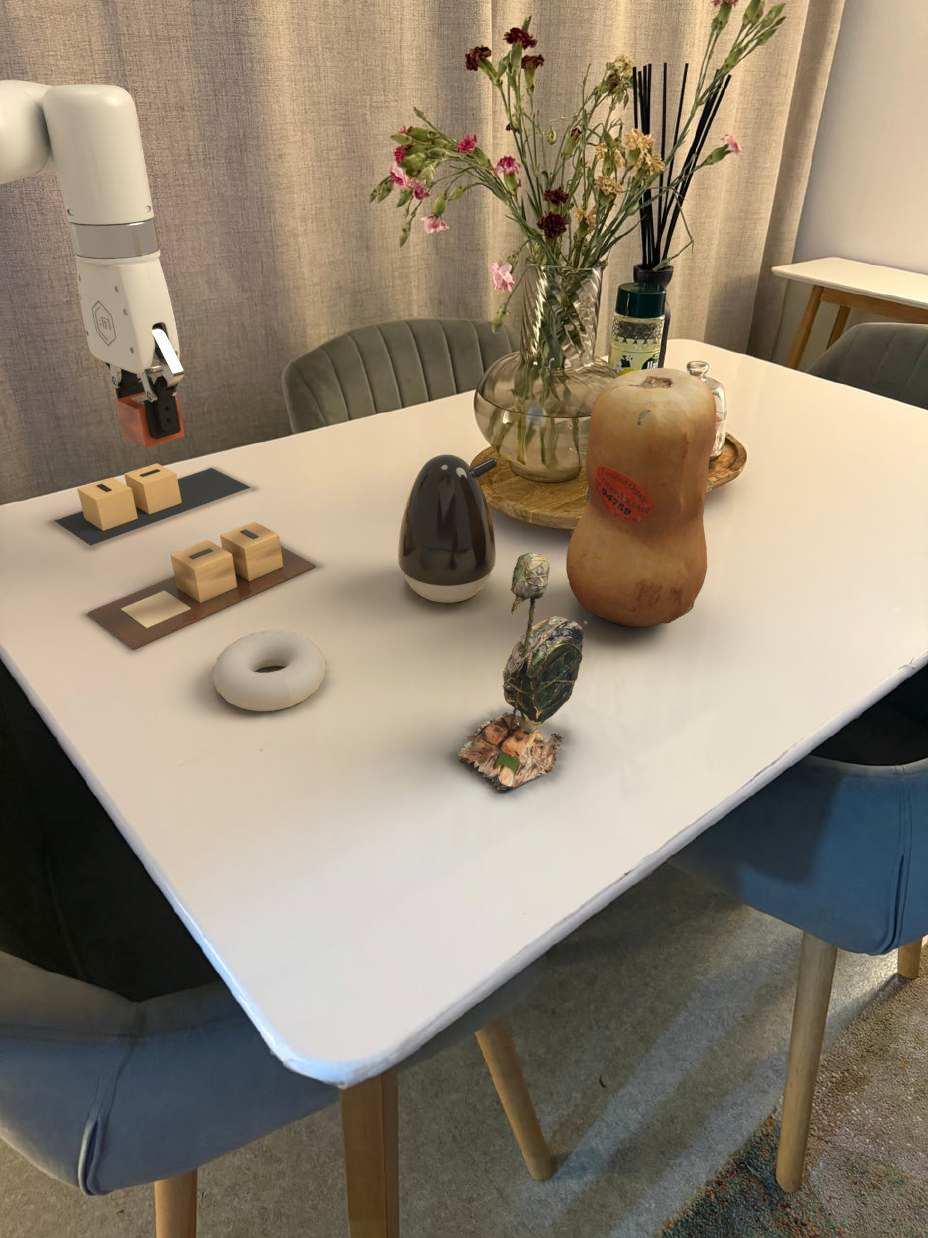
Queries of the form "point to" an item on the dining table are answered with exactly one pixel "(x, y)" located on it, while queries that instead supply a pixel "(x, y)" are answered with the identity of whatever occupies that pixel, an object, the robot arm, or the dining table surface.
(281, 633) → the donut
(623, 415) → the butternut squash
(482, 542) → the pump dispenser
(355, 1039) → the dining table surface
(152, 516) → the slate word
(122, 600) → the walnut word
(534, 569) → the plant with pod
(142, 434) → the red wooden slotted cube
